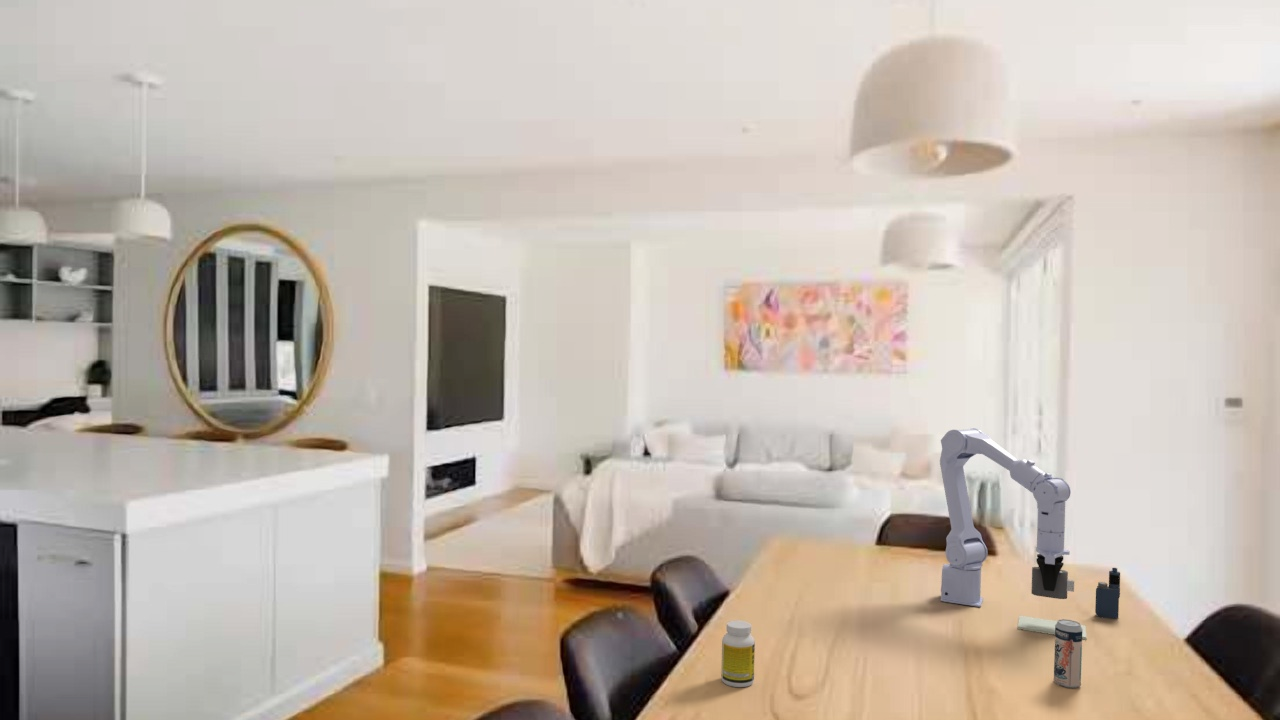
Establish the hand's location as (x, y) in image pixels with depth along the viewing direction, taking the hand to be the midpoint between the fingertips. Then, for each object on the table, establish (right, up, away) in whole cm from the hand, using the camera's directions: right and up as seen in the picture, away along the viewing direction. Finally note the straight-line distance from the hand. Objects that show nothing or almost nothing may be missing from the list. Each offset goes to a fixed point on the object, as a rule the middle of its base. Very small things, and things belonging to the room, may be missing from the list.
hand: (1049, 588), depth 193 cm
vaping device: (+18, -9, +8) cm, 22 cm away
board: (0, -9, -1) cm, 9 cm away
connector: (0, -2, 0) cm, 2 cm away
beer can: (-13, -9, -34) cm, 38 cm away
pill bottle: (-77, -8, -36) cm, 86 cm away
